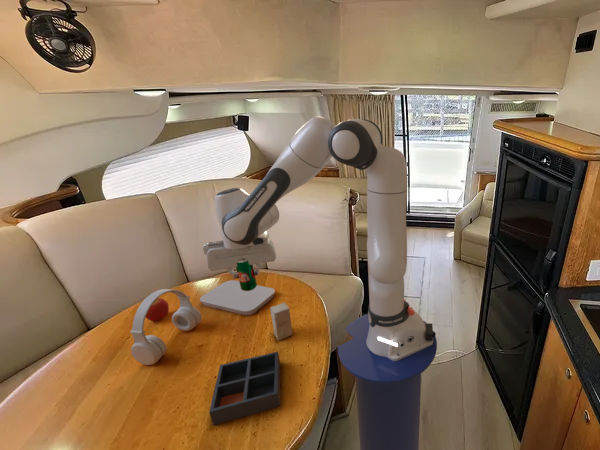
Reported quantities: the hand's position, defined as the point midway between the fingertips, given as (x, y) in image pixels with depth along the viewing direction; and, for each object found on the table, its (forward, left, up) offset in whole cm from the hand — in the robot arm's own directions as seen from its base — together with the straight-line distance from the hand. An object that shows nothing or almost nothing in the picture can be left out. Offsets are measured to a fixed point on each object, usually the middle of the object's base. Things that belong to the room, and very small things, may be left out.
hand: (246, 276), depth 104 cm
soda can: (0, 0, -5) cm, 5 cm away
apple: (+35, -17, -21) cm, 44 cm away
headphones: (+26, 0, -21) cm, 33 cm away
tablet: (+8, -20, -21) cm, 30 cm away
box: (-9, +8, -21) cm, 24 cm away
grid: (0, +29, -21) cm, 35 cm away
